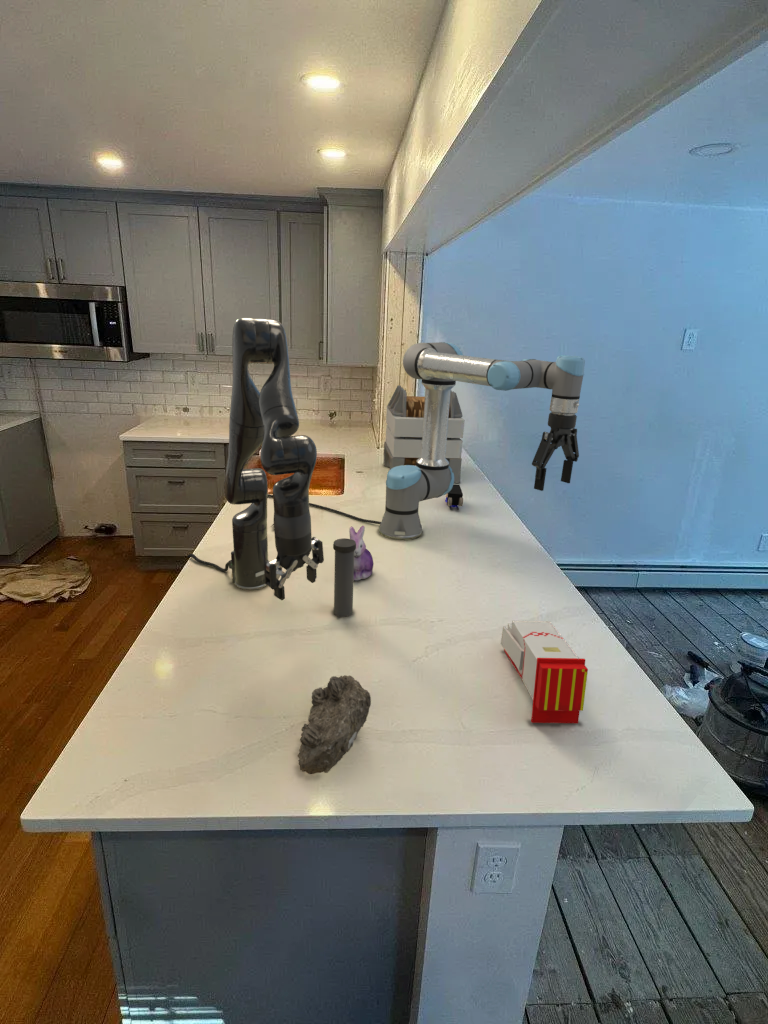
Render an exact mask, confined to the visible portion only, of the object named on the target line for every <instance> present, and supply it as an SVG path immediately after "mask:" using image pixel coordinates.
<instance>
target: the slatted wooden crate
mask: <svg viewBox="0 0 768 1024" xmlns="http://www.w3.org/2000/svg"><path fill="white" fill-rule="evenodd" d="M407 394H408V393H407V390H406V389H404V388H403V387H402V385H399V384H398V385H397V386H396V388H395V390H394V392H393V394H392V395H391V398H390V400H389V402H388V404H387V405H386V413H385V414H386V415H385V423H386V428H385V438H384V442H383V466H384V467H388V468H389V470H390V469H392V468H394V467H396V466H401V465H404V466H405V465H413V466H416V461H417V459H418V458H420V457H421V449H422V434H423V419H424V404H425V396H415V395H414V396H413V395H412V396H411V395H407ZM464 429H465V419H464V418H463V411H462V408H461V405H460V402H459V398H458V395H457V392H455V391H453V390H451V392H450V404H449V416H448V428H447V441H446V453H445V458H446V459H447V461H448V462H449V466H450V467H451V469H452V473H454V484H459V483H461V472H462V461H463V460H462V453H463V442H464V441H463V440H462V439H463V438H464V431H465V430H464Z"/></svg>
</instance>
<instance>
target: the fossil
mask: <svg viewBox="0 0 768 1024" xmlns="http://www.w3.org/2000/svg"><path fill="white" fill-rule="evenodd" d="M371 702H372V698H371V693H370V692H369V691H368V690H367V689H365V688H364V687H362V685H361V683H360V682H359V681H358V680H356V679H355V678H354V676H352V675H346V674H345V675H340V676H337V675H333V676H331V677H330V678H329V681H328V682H327V684H326V686H324V687H318V688H314V689H313V691H312V692H311V704H312V705H311V707H310V712H309V715H308V724H307V723H303V725H302V727H301V731H302V733H301V734H300V736H301V737H300V739H299V741H300V743H301V744H300V746H299V749H298V753H297V755H296V756H297V758H298V760H297V761H298V766H299V770H300V772H306V774H307V775H315V774H321V773H324V774H328V773H329V772H330V771H331V769H333V768H334V767H335V766H336V765H337V764H338V763H339V762H340V761H341V760H342V759H343V757H344V756H345V755H346V754H347V753H348V752H349V751H350V750H351V748H352V747H353V746H354V741H355V740H356V739H357V737H358V734H359V733H360V731H361V729H362V728H363V727H364V725H365V723H366V721H367V718H368V715H369V712H370V708H371V706H372V703H371Z"/></svg>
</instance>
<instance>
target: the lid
mask: <svg viewBox="0 0 768 1024" xmlns="http://www.w3.org/2000/svg"><path fill="white" fill-rule="evenodd" d="M332 548H333V550H334V552H335V551H337V552H340V553H350V552H353V551H355V549H356V542H355V541H354V540H352V539H350V538H337V539H335V540H334V541H333V544H332Z"/></svg>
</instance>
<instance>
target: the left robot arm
mask: <svg viewBox="0 0 768 1024" xmlns="http://www.w3.org/2000/svg"><path fill="white" fill-rule="evenodd" d="M287 339H288V338H287V333H286V330H285V327H284V325H283V324H282V323H281V322H280V321H279V320H275V319H268V318H254V317H253V318H252V317H239V318H237V319H236V320H235V322H234V324H233V329H232V340H231V341H232V342H231V343H232V345H231V347H232V350H231V351H232V385H231V397H230V409H229V423H228V452H227V459H226V460H227V461H226V467H225V473H224V482H223V484H224V485H223V491H224V496H225V499H226V501H227V502H228V503H229V504H230V505H236V506H237V505H248V504H249V506H247V507H246V508H245V509H243V510H241V511H239V512H236V514H234V515H233V517H232V519H231V525H232V526H231V528H232V543H233V550H231V552H230V560H227V562H226V563H225V566H224V568H223V567H221V566H219V564H216V563H213V562H209V561H206V560H202V559H200V558H198V557H197V556H196V554H194V553H189V554H188V555H187V556H186V558H187V559H190V558H192V559H193V560H194V561H195V562H197V563H199V564H201V565H205V566H209V567H212V568H214V569H216V570H217V571H219V572H222V573H227V572H228V571H229V569H230V570H231V578H232V579H231V580H232V584H234V585H235V587H236V588H238V589H240V590H245V591H256V590H261V589H263V588H265V587H269V588H270V589H271V590H273V594H274V596H275V597H276V598H277V599H279V600H280V601H284V600H286V592H285V583H286V581H287V580H288V579H290V577H291V575H292V573H293V572H295V571H297V570H298V569H301V568H302V567H304V566H305V564H306V566H305V568H306V580H307V581H308V582H310V583H311V584H314V583H315V582H316V579H317V568H318V567H319V564H323V563H324V561H325V557H324V545H323V541H322V540H320V539H319V538H317V537H316V536H312V517H311V511H310V505H309V503H310V486H311V481H312V477H313V473H314V470H315V466H316V463H317V457H318V451H317V446H316V443H315V441H314V440H313V439H312V438H311V437H310V436H308V435H304V434H297V435H295V434H296V433H297V432H298V430H299V428H300V420H299V415H298V411H297V408H296V405H295V404H296V403H295V400H294V394H293V390H292V383H291V381H292V380H291V379H292V378H291V368H290V367H291V366H290V357H289V348H288V347H289V346H288V340H287ZM250 363H251V364H252V363H253V364H273V368H272V370H271V373H270V374H269V376H268V377H267V379H266V381H265V382H264V384H263V385H262V387H261V389H260V390H259V389H258V387H257V386H256V384H255V381H254V380H253V378H252V376H251V373H250V371H249V364H250ZM259 449H260V459H259V460H260V464H261V466H262V468H260V467H254V468H253V467H252V468H245V466H246V464H247V463H248V461H249V460H250V459H251V457H252V456H253V455H254V454H255V453H256V452H257V451H258V450H259ZM266 473H267V474H269V475H272V476H279V475H289V476H287V477H284V478H282V479H280V480H277V481H276V482H275V483H274V485H273V486H272V495H273V497H272V500H273V524H274V526H273V531H274V533H273V534H274V545H275V549H276V553H277V554H276V558H275V559H273V560H271V561H270V560H269V545H268V540H269V539H268V494H269V488H268V487H269V484H268V478H267V477H268V476H267V474H266ZM290 474H291V475H290ZM310 554H311V555H312V558H310V557H309V556H310ZM283 569H284V570H285V572H284V571H283Z"/></svg>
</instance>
